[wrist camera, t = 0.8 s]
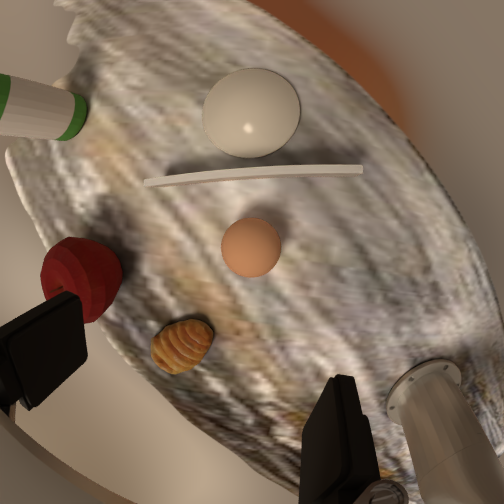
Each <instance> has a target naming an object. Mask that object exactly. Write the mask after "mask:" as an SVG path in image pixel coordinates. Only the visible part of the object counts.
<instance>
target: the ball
mask: <svg viewBox="0 0 504 504" xmlns="http://www.w3.org/2000/svg"><path fill="white" fill-rule="evenodd" d="M221 252H222V256H223V259H224V261H225V263H226V264H227V266H228V267H229V268H230V269H231V270H232V271H233V272H235V273H236V274H238V275H241V276H244V277H258V276H262V275H264V274H266V273H268V272H269V271H270V270H271V269H272V268H273V267H274V266H275V265H276V263H277V261H278V260H279V257H280V253H281V242H280V238H279V236H278V234H277V232H276V230H275V229H274V228H273V227H272V226H271V225H270V224H269V223H267V222H266V221H264V220H261V219H258V218H244V219H241V220H239V221H236V222H235V223H233V224H232V225H231V226H230V227H229V228H228V229H227V231H226V232H225V234H224V236H223V239H222V243H221Z"/></svg>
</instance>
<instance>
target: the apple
mask: <svg viewBox="0 0 504 504" xmlns="http://www.w3.org/2000/svg"><path fill="white" fill-rule="evenodd" d="M122 274H123V272H122V268H121V264H120V261H119V260H118V258H117V256H116V254H115V253H114V252H113V251H112V250H111V249H109V248H108V247H107V246H104V245H102V244H100V243H98V242H95V241H93V240H89V239H85V238H76V237H67V238H65V239H63V240H62V241H60V242H58V243H57V244H56V245H55V246H53V247H52V248H51V249H50V250H49V251H48V253H47V255H46V256H45V258H44V262H43V266H42V271H41V274H40V277H41V284H42V289H43V292H44V296H45V298H46V301H47V300H49V299H51V298H52V297H54V296H56V295H58V294H60V293H62V292H64V291H66V290H67V291H70V292H72V293H74V294H76V295H78V296H79V297H80V301H81V302H82V307H83V319H84V324H85V323H91V322H94V321H96V320H97V319H98V318H99V317H100V316H101V315H102V314H103V313H104V312H105V311H106V310H107V309H108V307H109V306H110V305H111V304H112V303H113V301H114V298H115V296H116V294H117V292H118V290H119V288H120V285H121V283H122Z"/></svg>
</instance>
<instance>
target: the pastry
mask: <svg viewBox="0 0 504 504" xmlns="http://www.w3.org/2000/svg"><path fill="white" fill-rule="evenodd" d="M212 339H213V331H212V329H211V328H210V327H209V326H208V325H207V324H206V323H204V322H202V321H200V320H195V319H189V320H185V321H180V322H177V323H174V324H172V325H168V326H166V327H165V328H164V330H163V331H161V332H160V333H159V334H158V335H156V336H155V337H153V338H152V339H151V356H152V358H153V360H154V362H155V363H156V364H157V365H158V366H159V367H160V368H161V369H163V370H165V371H166V372H168V373H171V374H178V373H181V372H183V371H188V370H191V369H192V368H193V367H194V366H196V365H197V364H199V363H200V362H201V360H202V359H203V357H204V355H205V354H206V352H207V350H208V349H209V347H210V345H211V343H212Z"/></svg>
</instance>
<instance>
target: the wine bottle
mask: <svg viewBox="0 0 504 504" xmlns="http://www.w3.org/2000/svg"><path fill="white" fill-rule="evenodd" d="M86 112H87V107H86V102H85V100H84V99H83V98H82V97H81V96H80V95H78V94H75V93H72V92H69V91H66V90H63V89H59V88H56V87H52V86H49V85H45V84H42V83H38V82H34V81H30V80H27V79H23V78H18V77H14V76H10V75H4V74H0V135H7V136H20V137H30V138H40V139H49V140H59V141H66V140H69V139H71V138H73V137H74V136H75V135H76V134H77V133H78V132H79V131H80V129H81V127H82V126H83V123H84V121H85V118H86Z"/></svg>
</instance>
